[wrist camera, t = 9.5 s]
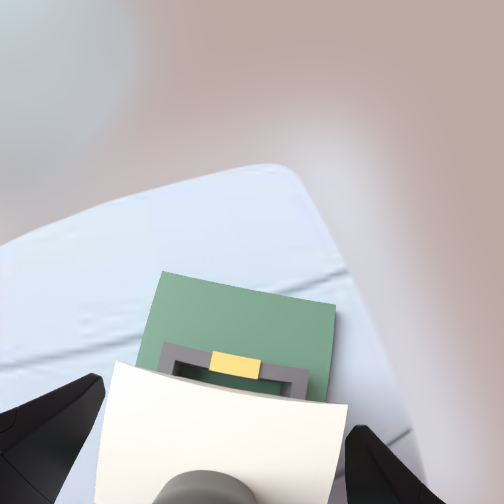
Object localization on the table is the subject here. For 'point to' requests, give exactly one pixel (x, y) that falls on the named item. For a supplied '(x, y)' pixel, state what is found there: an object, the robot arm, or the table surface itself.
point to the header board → (239, 338)
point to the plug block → (213, 444)
